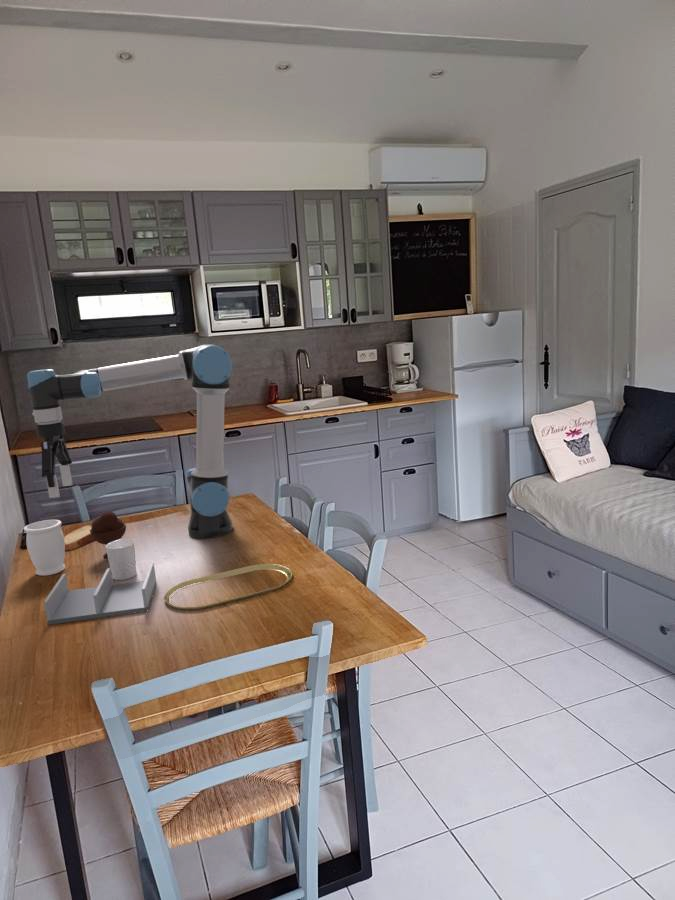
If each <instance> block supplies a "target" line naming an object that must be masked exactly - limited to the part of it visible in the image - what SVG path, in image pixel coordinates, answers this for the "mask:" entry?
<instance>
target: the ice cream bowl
mask: <svg viewBox="0 0 675 900" xmlns="http://www.w3.org/2000/svg"><path fill="white" fill-rule="evenodd" d="M126 530H127V525H126V524H125V522H123V520H122V519H120V518H118V516H117V514H116V513H115V512H113V511H104V512H102V514H100V515H99V516H97V517H96V518H95V519H94V520H93V521H92V522H91V530H90V533H91V535H92V537H93V538H94V539H95V540H94V541H96V542H97V543H99V544H101V545H105V546H106V545H107V544H108V543H110V542H113V541H116V540H121V539H123V538H122V537H124V535H125V534H126ZM102 557H103V559H106V560H108V556H107V552H105V553H104V554H103V556H102Z"/></svg>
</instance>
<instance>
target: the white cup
mask: <svg viewBox="0 0 675 900" xmlns="http://www.w3.org/2000/svg"><path fill="white" fill-rule="evenodd" d="M135 550H136V548H135V540H134V539H130V538H129V539H128V538H121V539H119V540H116V541H113V542H110V543H108V544H107V545H106V544H105V551H106V553H107V556H108V559H107V562H108V564H109V568H110V570H111V577H112V580H116V581H124V580H125V581H126V580H129V579H131V577H132V578H133V577H135V576H136V575H137V561H136V551H135Z"/></svg>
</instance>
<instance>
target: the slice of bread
mask: <svg viewBox="0 0 675 900" xmlns="http://www.w3.org/2000/svg"><path fill="white" fill-rule="evenodd" d="M91 525H92V524H91ZM91 525H90V524H89V525H88V524H87V525H83V526H82V527H80V528H78V529H75V530H73V531H71V532H70V533H68V534H66V535H64V540H65V550H70V551H73V550H76V549H78V548H81V547H83V546H85V545H87V544H90V543H91V542H93V540H94V541H95V539H94V538H93V537H92V535H91V533H90V530H91ZM80 546H81V547H80ZM75 548H76V549H75ZM72 549H73V550H72Z"/></svg>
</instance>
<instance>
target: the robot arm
mask: <svg viewBox="0 0 675 900" xmlns="http://www.w3.org/2000/svg"><path fill="white" fill-rule="evenodd" d="M232 370H233V361H232V358H231V355H230V354H229V352H228V351H227V349H225V348H223V346H220V345H218V344H211V343H206V344H205V343H204V344H201V345H199V346H197V347H193V348H189V349H184V350H180V351H179V352H178V354H175V355H174V354H173V355H167V356H161V357H156V358H150V359H143V360H137V361H131V362H127V363H119V364H113V365H108V366H102V367H98V368H90V369H80V370H77V371H76V372H74V373H70V374H69V373H68V374H56V372H55V370H54V369H52V368H49V369H36V370H31V371H28V372H27V375H26V377H27V385H28V387H27V389H28V390H29V391H28V392H29V396H30V401H31V406H32V411H33V412H32V413H31V415H32V417H34V422H35V423H36V425H35V428H36V429H35V430H36V435H37V437H38V438H44V441H42V442H40V450H41V477H42V478H45V482H46V487H47V492H48V497H49V499H51V498H53V499H54V498H55V499H56V498H60V497H61V496H60V495H61V494H60V490H59V484H58V478H57V475H56V474H55V470H56V460H57V461H58V462H59V464H60V465H59V471H60V477H61V481H62V486H63V487H67V486H69V487H70V486H73V485H74V484H73V479H72V478H73V477H72V473H71V468H70V465H72V463H73V461H72V459H71V456H70V453H69V450H68V447H67V444H66V442H65V439H64V434H65V433H66V431H65V425H64V421H62V420H63V419H64V418H63V413H62V408H61V403H60V402H62V401H70V400H80V399H81V400H82V399H91V398H96V397H100V396H101V395H102V392H107V391H112V390H118V389H124V388H129V387H130V388H131V387H136V386H141V385H147V384H152V383H157V382H159V383H160V382H165V381H171V380H176V379H177V380H178V379H184V380H186V381H189V380H191V388H192V389H193V390H194V391H195V393H196V434H195V435H196V437H195V438H196V439H195V440H196V442H195V443H196V446H195V447H196V448H195V449H196V451H195V453H196V454H195V460H196V461H195V467H193V468H190V469H188V470H187V471H186V480H187V487H188V497H189V505H190V517H189V522H188V526H187V529H188V530H187V531H188V536H190V537H192V538H195V539H211V538H217V537H221V536H223V535H226V534H229V533H230V532H232V530H233V521H232V519H231V517H230V515H229V513H228V511H227V508H228V506H229V503H230V491H228V487H229V483H228V482H229V481H228V480H229V473H228V471H227V470H226V469H225V468H224V455H225V454H224V447H225V445H224V443H225V442H224V441H225V399H226V398H225V397H226V396H225V394H226V393H227V392H228V391H229V390H230V389H231V387H230V384H231V373H232Z"/></svg>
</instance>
